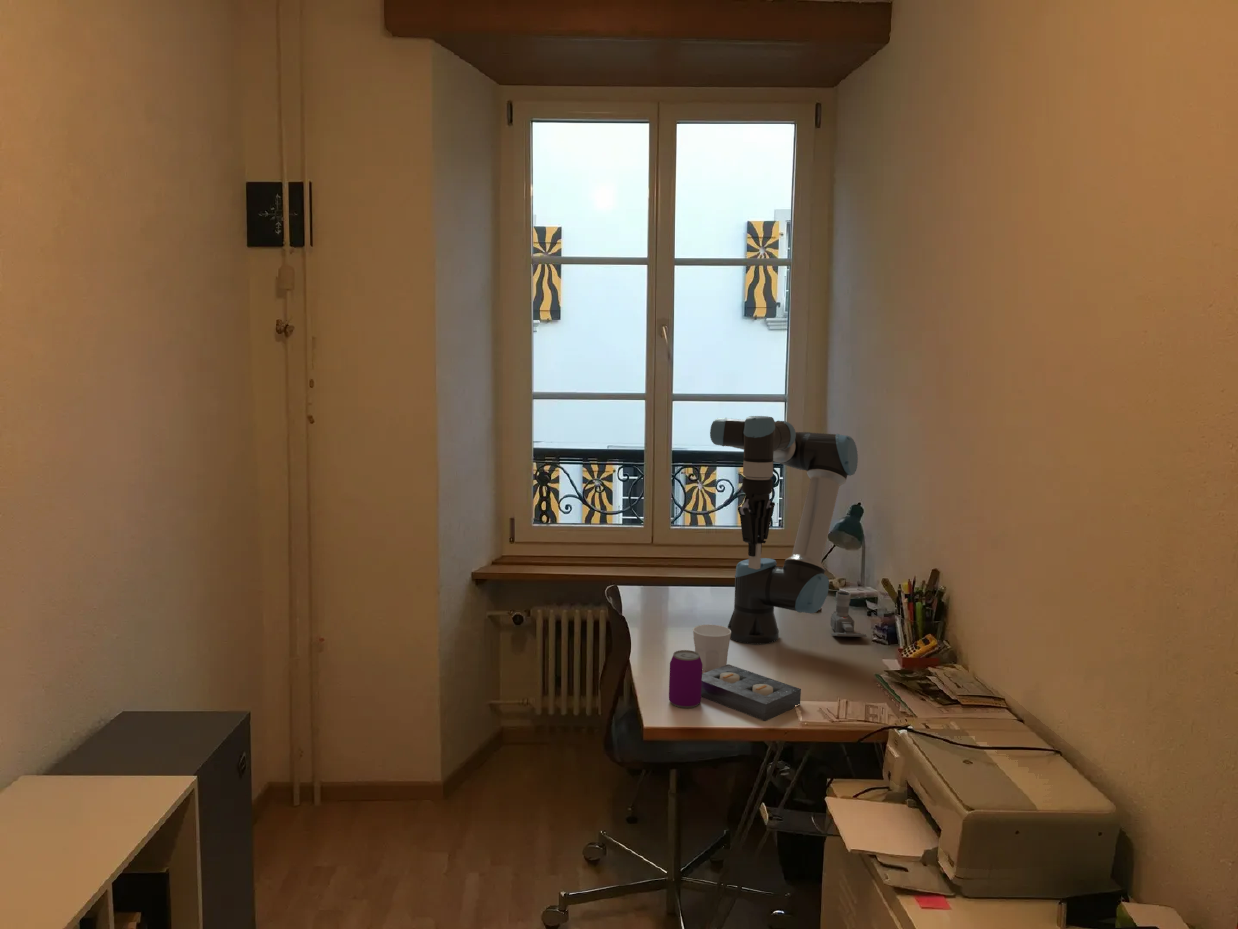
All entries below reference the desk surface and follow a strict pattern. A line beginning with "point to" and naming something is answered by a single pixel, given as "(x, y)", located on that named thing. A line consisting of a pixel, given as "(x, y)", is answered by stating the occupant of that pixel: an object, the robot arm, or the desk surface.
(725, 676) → the knob
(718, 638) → the cup
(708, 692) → the mount plate
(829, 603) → the desk surface
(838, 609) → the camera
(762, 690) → the knob
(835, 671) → the desk surface
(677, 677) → the beverage can
